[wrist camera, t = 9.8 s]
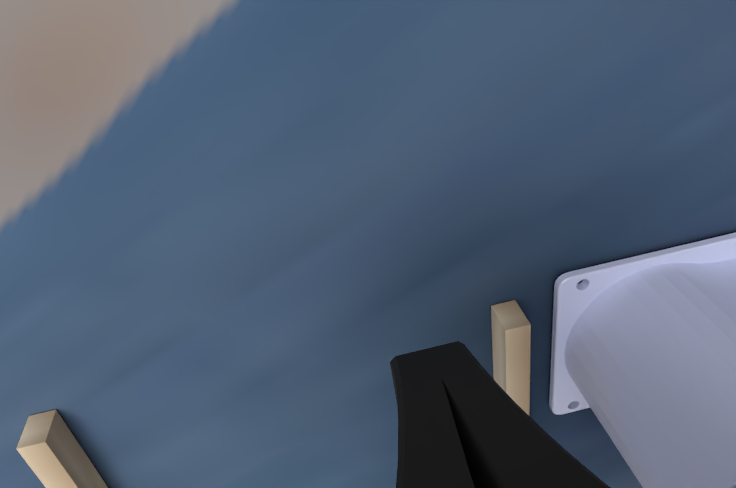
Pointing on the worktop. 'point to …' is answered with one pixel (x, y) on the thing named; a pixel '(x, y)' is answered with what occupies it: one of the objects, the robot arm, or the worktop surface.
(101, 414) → the worktop surface
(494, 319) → the bay
